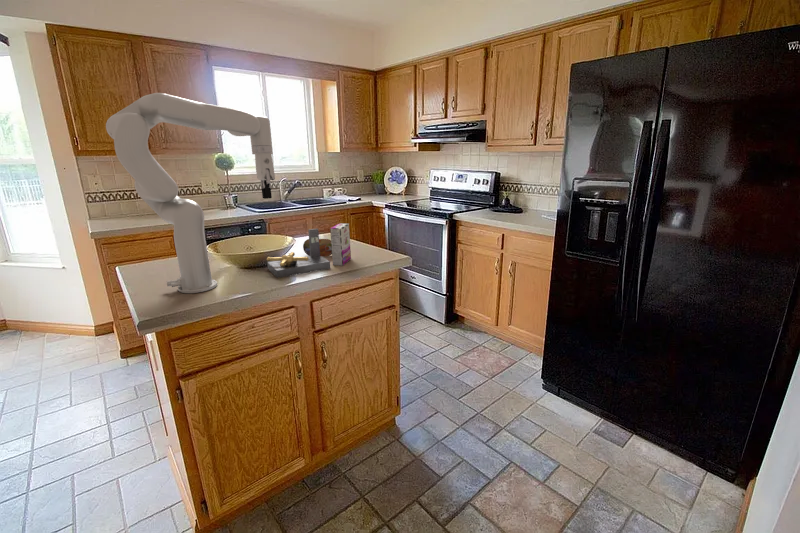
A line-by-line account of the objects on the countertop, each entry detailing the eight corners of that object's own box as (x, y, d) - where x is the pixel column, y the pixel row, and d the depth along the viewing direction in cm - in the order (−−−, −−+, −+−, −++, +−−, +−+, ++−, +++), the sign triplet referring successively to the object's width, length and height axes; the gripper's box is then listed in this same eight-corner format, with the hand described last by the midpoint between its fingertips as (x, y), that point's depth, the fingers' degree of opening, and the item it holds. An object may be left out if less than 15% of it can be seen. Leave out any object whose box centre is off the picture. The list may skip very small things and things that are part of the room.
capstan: (304, 270, 144) (303, 260, 143) (260, 270, 144) (259, 260, 143) (313, 258, 160) (312, 249, 159) (273, 258, 160) (272, 249, 159)
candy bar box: (340, 258, 172) (339, 223, 167) (351, 259, 171) (349, 223, 166) (331, 265, 162) (329, 227, 157) (342, 266, 161) (340, 228, 156)
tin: (303, 255, 177) (302, 238, 175) (306, 254, 180) (305, 237, 178) (333, 257, 174) (332, 239, 172) (336, 255, 177) (335, 238, 175)
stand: (277, 277, 146) (273, 240, 142) (267, 269, 157) (263, 233, 153) (330, 268, 157) (328, 233, 153) (317, 260, 169) (315, 227, 164)
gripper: (277, 150, 142) (282, 199, 147) (267, 150, 154) (271, 196, 159) (256, 150, 138) (262, 200, 143) (247, 150, 150) (253, 197, 155)
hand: (267, 198), depth 151 cm, fingers closed
